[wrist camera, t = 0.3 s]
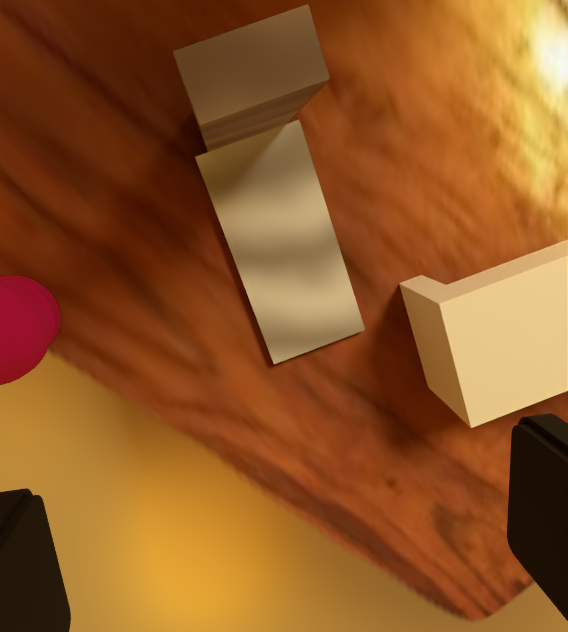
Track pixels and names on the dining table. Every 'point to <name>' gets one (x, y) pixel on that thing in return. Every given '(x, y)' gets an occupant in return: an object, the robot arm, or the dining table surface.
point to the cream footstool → (494, 334)
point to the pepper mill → (25, 325)
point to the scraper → (271, 177)
